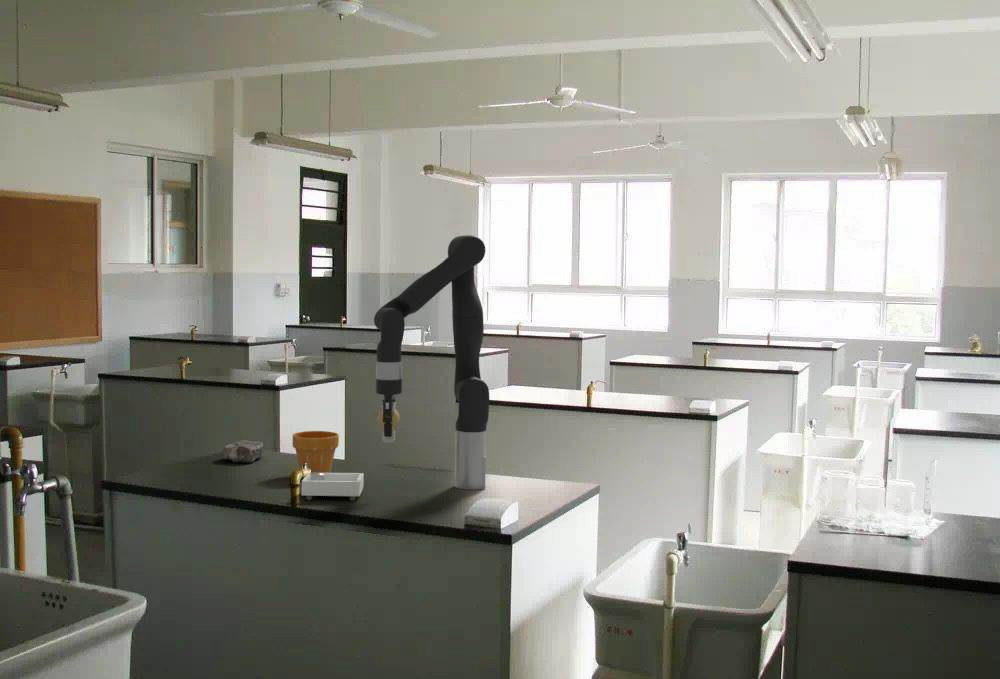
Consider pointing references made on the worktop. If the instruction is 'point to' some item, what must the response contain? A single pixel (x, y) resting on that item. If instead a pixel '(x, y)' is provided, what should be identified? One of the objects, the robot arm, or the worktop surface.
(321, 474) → the grey rounded piece
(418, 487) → the worktop surface
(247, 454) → the rock
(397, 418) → the amber frosted bulb
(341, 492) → the tray
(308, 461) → the flower pot
